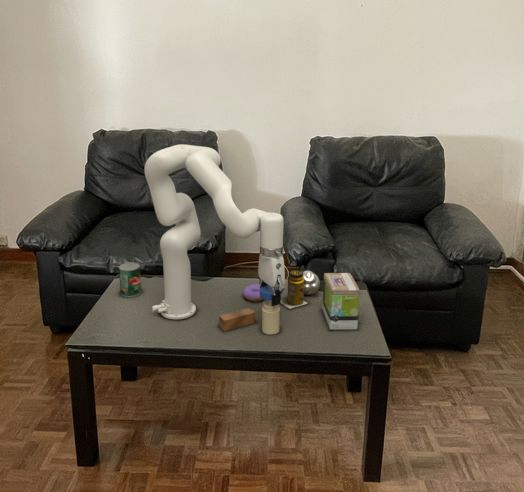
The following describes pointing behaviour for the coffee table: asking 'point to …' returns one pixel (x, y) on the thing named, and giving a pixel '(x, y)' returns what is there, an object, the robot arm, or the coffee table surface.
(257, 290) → the donut
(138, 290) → the canned tomato
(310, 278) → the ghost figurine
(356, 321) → the tea box
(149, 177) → the robot arm
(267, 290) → the lid
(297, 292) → the condiment
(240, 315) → the block
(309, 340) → the coffee table surface
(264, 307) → the jar
